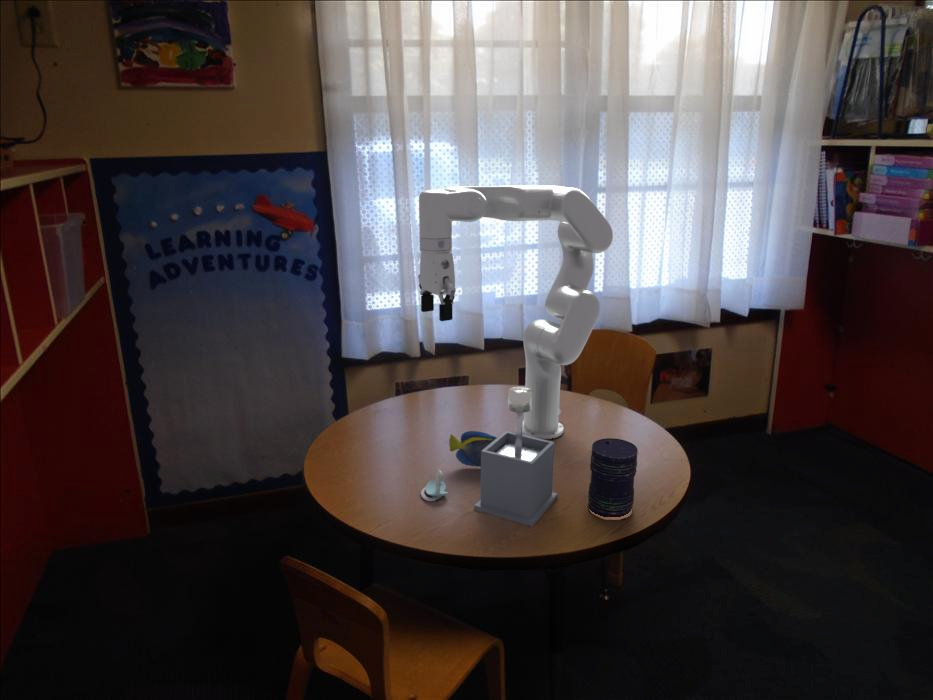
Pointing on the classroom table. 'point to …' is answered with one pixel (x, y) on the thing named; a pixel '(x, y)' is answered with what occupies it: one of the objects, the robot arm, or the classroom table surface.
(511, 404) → the plunger
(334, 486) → the classroom table surface
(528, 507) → the press housing
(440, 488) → the pacifier
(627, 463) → the dark blue cylinder
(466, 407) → the classroom table surface
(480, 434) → the tropical fish figurine
